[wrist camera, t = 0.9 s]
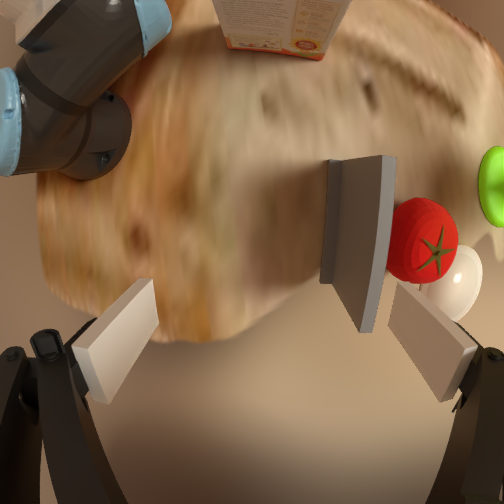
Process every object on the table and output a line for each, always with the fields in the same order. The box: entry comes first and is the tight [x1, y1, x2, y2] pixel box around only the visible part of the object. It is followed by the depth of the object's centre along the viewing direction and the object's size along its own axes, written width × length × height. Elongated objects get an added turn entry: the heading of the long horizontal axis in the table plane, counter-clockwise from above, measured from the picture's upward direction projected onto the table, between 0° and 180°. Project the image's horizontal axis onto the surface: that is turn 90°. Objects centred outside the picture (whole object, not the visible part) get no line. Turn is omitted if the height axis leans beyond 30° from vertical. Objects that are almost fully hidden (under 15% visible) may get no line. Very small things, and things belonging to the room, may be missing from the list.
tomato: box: [386, 198, 458, 284], centre depth 34 cm, size 11×12×10 cm
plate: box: [419, 244, 482, 322], centre depth 40 cm, size 16×16×1 cm
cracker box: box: [212, 0, 352, 60], centre depth 22 cm, size 14×6×21 cm, turn 82°
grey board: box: [320, 155, 396, 333], centre depth 32 cm, size 18×5×15 cm, turn 178°
